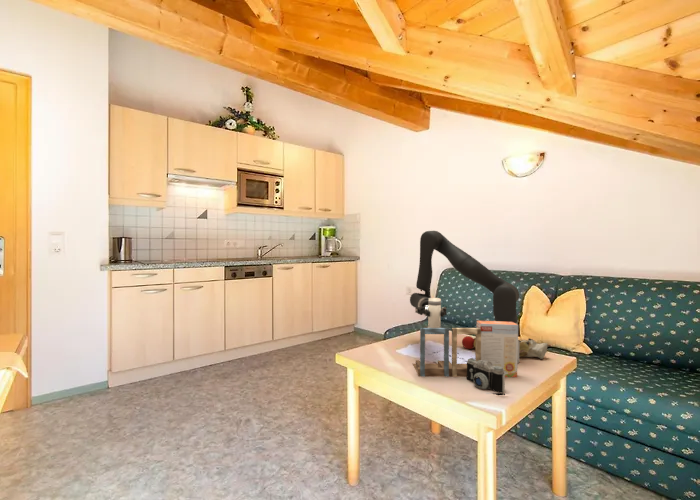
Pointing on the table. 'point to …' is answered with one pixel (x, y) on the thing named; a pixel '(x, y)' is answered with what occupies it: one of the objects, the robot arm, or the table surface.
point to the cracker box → (500, 345)
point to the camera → (486, 375)
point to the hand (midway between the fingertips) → (435, 314)
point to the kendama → (469, 342)
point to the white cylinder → (434, 312)
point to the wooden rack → (446, 354)
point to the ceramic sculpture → (532, 349)
